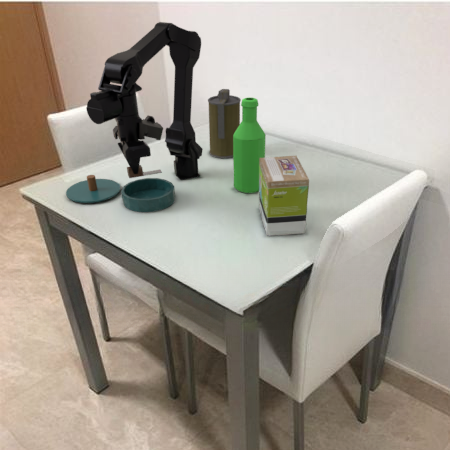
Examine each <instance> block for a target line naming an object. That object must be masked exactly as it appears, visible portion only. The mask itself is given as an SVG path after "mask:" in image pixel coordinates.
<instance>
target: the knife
mask: <svg viewBox="0 0 450 450" xmlns="http://www.w3.org/2000/svg"><path fill="white" fill-rule="evenodd" d="M143 170H144V169H143V166H142V165H141V164H139V171H138V174H134V173H133V171H132V169H131V167H130V166H126V171H127V176H128V178H129V179H134V178H140V177H144V176H145V177H146V176H152V175H158V174H162V173H163V172H162V170H161V169H155V170H149V171H143Z"/></svg>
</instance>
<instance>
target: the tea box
mask: <svg viewBox="0 0 450 450" xmlns="http://www.w3.org/2000/svg"><path fill="white" fill-rule="evenodd" d="M309 189H310V177H308V175H307V173H306V171H305V169H304V167H303V165H302V164H301V162H300V160H299V158H298V156H297V155H284V156H283V155H282V156H271V157H268V156H267V157H265V158H260V159H259V191H258V210H259V213H260V217H261V220H262V224H263V228H264V229H265V234H266V236H267V237H272V236H273V237H274V236H286V235H298V234H301V235H302V234H305V233H306V228H307V227H306V226H307V214H308V202H309Z"/></svg>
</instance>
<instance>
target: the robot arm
mask: <svg viewBox="0 0 450 450" xmlns="http://www.w3.org/2000/svg"><path fill="white" fill-rule="evenodd" d="M166 46H167V47H168V49H169V56H170V59H171V61H172V63H173V66H174V85H173V86H174V87H173V112H172V113H173V116H172V117H173V118H172V119H173V120H172V123H171V124H170V126H169V127H166V128H165V139H164V143H165V146H166V148H167V149H168V152H169V155H170V156H173V157H174V160H173V169H174V170H173V171H174V174H175V176H176V177H177V178H178V179H179V181H183V180H191V179H196V178H201V174H200V173H199V159H200V157H202V155H203V149H204V148H203V147H202V146H201V145H200V144H198V142H196V139H197V138H196V132H195V129H194V127H193V125H192V121H191V120H192V99H193V98H192V97H193V79H194V67H195V66H196V64H197V62H198V61H199V59H200V55H201V48H202V37H201V36H200V35H199V34H198V32H197V31H194V30H187V29H185V28H182V27H179V26H177V25H176V24H174V23H173V22H166V21H165V22H164V21H158V22H156V23H155V25H154V27H153V28H152V29H150V30H149V31H148V32H147V33H146V34H145V35H144V36H142V37H141V38H140V39H139V40H138V41H137V42H136V43H135V44H134V45H132V46H131V47H130V48H129V49H127V50H125V51H124V50H123V51H121V52H117V53H115V54H112V55H111V56H109V57H108V58H107V59H106V60H105V62H104V68H103V71H102V74H101V78H100V81H99V83H98V84H99V85H98V88H97V90H98V91H94V92H91V93H89V97H90V99H88V101H87V104H86V108H85V109H86V113H87V115H88V118H89V119H90V120H91V122H93V123H94V124H96V125H101V124H104V123H107V122H109V121H112V120H113V119H114V120H115V122H116V125H115V126H114V127H113V129H112V134H113V138H114V140H118V139H119V141H120V142H117V145H118V148H119V150H120V151H121V152H122V155H123V156H124V159H125V160H126V162H127V164H128V167H131V169H132V171H133V173H134V174H138V171H139V165H141V164H140V162H141V158H147V157H150V156H151V154H152V153H151V147H150V146H149V144H148V143H147V142H145V139H146V138H151V139H155V140H156V141H161V139H162V135H163V131H164V127H163V125H162V124H160V123H159V122H157V121H156V120H155V117H154V116H152V115H149V114H148V115H146V117H145V118H143V119H142V117H140V112H139V105H138V98H137V93H138V92H140V91H143V88H142V86H141V85H139V84H138V83H137V82H138V80H139V79H140V77H141V76H142V74H143V69H144V67H145V65H146V64H147V63H149V61H151V60H152V59H153V58H155V56H157V54H158V53H160V52H161V51H162V50H163V49H164V48H165V47H166Z"/></svg>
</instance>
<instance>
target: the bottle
mask: <svg viewBox="0 0 450 450" xmlns="http://www.w3.org/2000/svg"><path fill="white" fill-rule="evenodd" d="M240 107H242V108H241V110H242V111H241V113H242V114H241V121H240V125H239V127H238V128H237V130H236V131H235V133H234V135H233V158H232V159H233V160H232V161H233V187H234V189H235V190H237V191H238V192H241V193H244V194H255V193H257V192H258V193H259V159H260V158H266V133H265V131H264V129H263V127H262V126H261V124H260V123H259V122H258V107H259V101H258V99H257V98H255V97H245V98H242V99H241V102H240Z"/></svg>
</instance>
